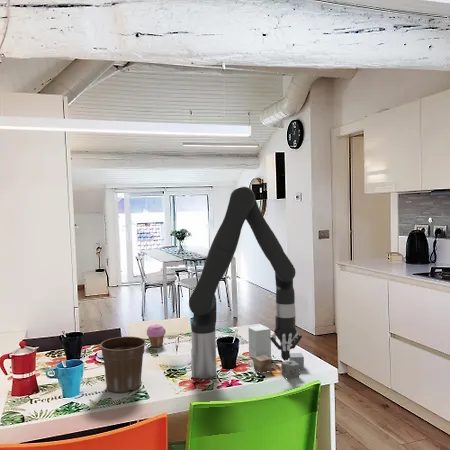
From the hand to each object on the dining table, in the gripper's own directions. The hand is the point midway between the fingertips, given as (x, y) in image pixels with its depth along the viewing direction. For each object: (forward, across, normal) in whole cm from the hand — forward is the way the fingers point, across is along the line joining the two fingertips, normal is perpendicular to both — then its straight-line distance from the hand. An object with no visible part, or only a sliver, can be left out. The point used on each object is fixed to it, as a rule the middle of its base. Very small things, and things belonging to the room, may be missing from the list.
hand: (285, 359), depth 166 cm
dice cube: (+7, +2, 0) cm, 7 cm away
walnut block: (+6, -7, +8) cm, 12 cm away
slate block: (+6, +7, +8) cm, 12 cm away
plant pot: (+7, -60, +5) cm, 60 cm away
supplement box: (+7, -4, +23) cm, 24 cm away
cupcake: (+7, -47, +50) cm, 69 cm away
